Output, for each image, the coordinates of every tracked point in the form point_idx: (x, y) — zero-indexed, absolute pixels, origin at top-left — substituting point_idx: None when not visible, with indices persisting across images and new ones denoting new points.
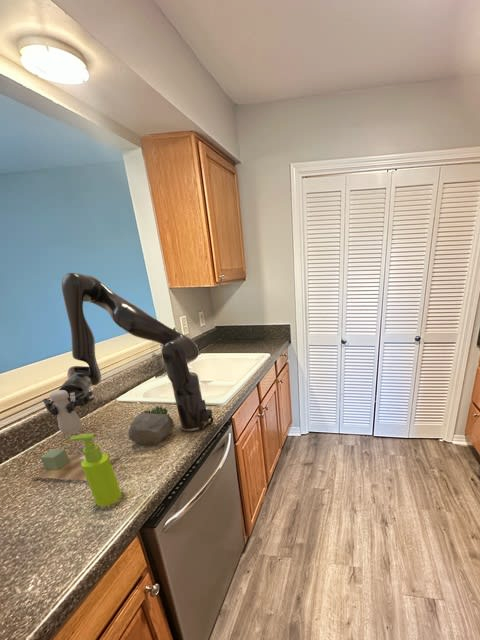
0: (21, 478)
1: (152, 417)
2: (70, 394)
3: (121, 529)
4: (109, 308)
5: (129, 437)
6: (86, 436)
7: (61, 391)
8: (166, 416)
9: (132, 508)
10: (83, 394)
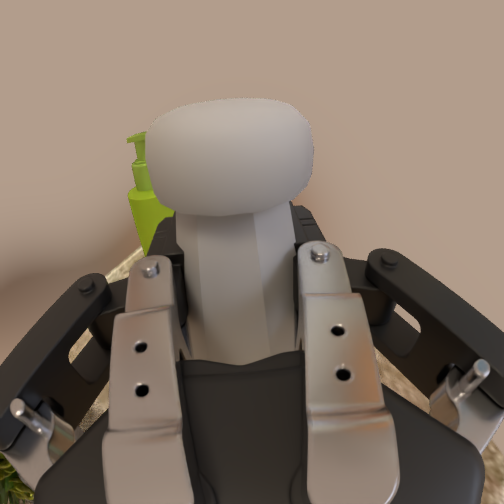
0: (421, 396)
1: None
2: (177, 417)
3: None
4: None
5: (81, 429)
6: (140, 133)
7: (187, 105)
8: None
9: (142, 254)
10: (48, 468)
